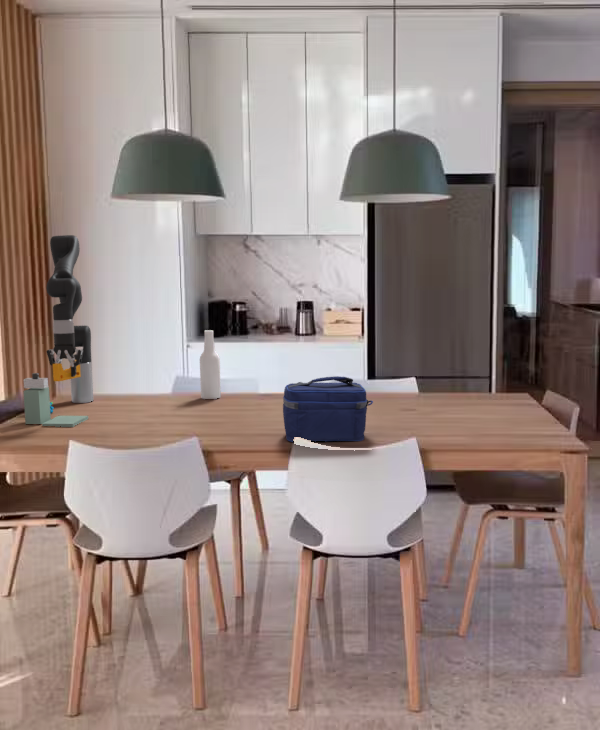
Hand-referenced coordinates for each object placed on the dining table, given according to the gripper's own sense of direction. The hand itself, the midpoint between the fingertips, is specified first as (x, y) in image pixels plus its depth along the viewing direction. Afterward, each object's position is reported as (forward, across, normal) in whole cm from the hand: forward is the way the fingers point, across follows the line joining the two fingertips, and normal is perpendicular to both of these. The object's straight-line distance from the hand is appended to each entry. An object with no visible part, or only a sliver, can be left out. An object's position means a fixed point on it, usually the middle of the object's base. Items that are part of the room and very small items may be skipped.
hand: (66, 376), depth 303 cm
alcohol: (+17, -43, -54) cm, 71 cm away
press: (+18, +5, 0) cm, 19 cm away
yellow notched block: (+1, 0, 0) cm, 1 cm away
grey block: (+4, +12, 0) cm, 13 cm away
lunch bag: (+19, -100, +17) cm, 103 cm away
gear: (+18, +18, -18) cm, 31 cm away
